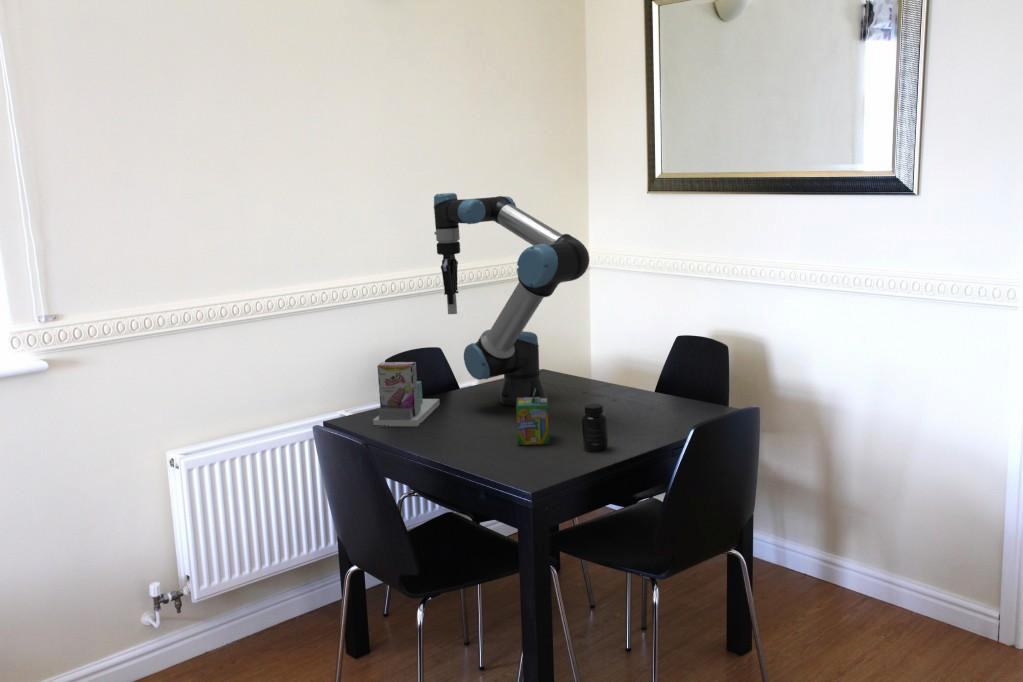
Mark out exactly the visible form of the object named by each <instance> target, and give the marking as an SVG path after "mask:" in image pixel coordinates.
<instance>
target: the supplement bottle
mask: <svg viewBox="0 0 1023 682" xmlns="http://www.w3.org/2000/svg"><path fill="white" fill-rule="evenodd" d="M603 408H604V407H603V405H602V404H600V403H588V404H585V405H584V415H583V416H582V418H581V437H582V438H581V440H582V449H583V450H584V451H586V452H588V453H589V452H590V453H600V452H604V451H606V450H607V449H608V447H609V437H608V436H609V435H608V418H607V416H606V415H605V414H604V409H603Z"/></svg>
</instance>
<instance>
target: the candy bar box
mask: <svg viewBox="0 0 1023 682" xmlns="http://www.w3.org/2000/svg"><path fill="white" fill-rule="evenodd" d="M417 374H418V373H417V362H416V361H409V362H408V361H398V362H397V361H395V362H394V361H393V362H392V361H387V362H384V361H383V362H381V363H379V364H378V365H377V377H378V391H379V393H378V394H379V405H380V406H379V408H380V407H381V406H413V417H415V416H416V415H417V414H418V413H419V403H418V388H417V381H418V375H417Z"/></svg>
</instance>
